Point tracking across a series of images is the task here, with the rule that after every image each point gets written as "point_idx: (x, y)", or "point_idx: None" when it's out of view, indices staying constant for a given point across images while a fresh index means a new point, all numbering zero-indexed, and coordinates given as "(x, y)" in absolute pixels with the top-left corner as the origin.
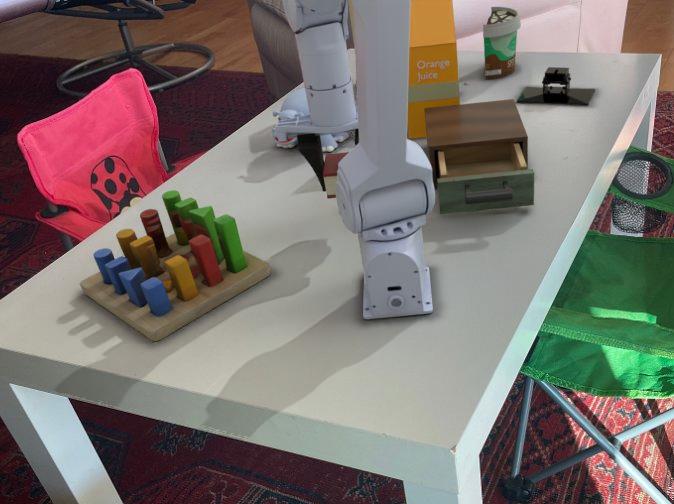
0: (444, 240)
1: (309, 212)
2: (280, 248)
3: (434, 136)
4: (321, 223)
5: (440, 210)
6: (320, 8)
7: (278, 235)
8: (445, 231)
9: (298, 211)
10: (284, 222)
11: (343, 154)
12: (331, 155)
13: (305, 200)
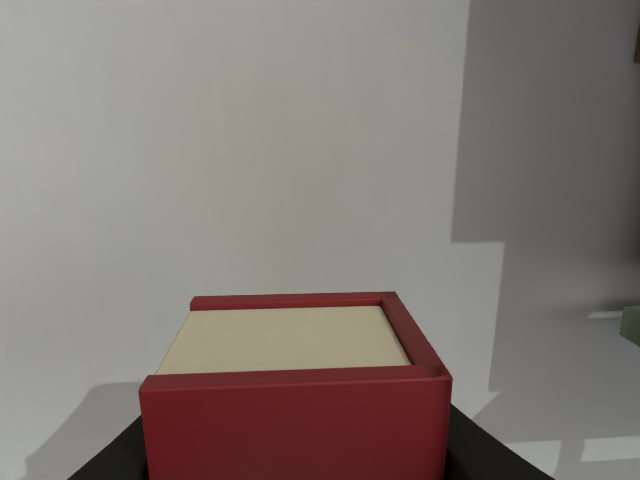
0: (583, 438)
1: (105, 170)
2: (48, 418)
3: None
4: (174, 272)
5: (633, 342)
6: None
7: (14, 333)
8: (599, 391)
9: (50, 150)
10: (10, 237)
11: (316, 419)
12: (202, 420)
13: (59, 44)
